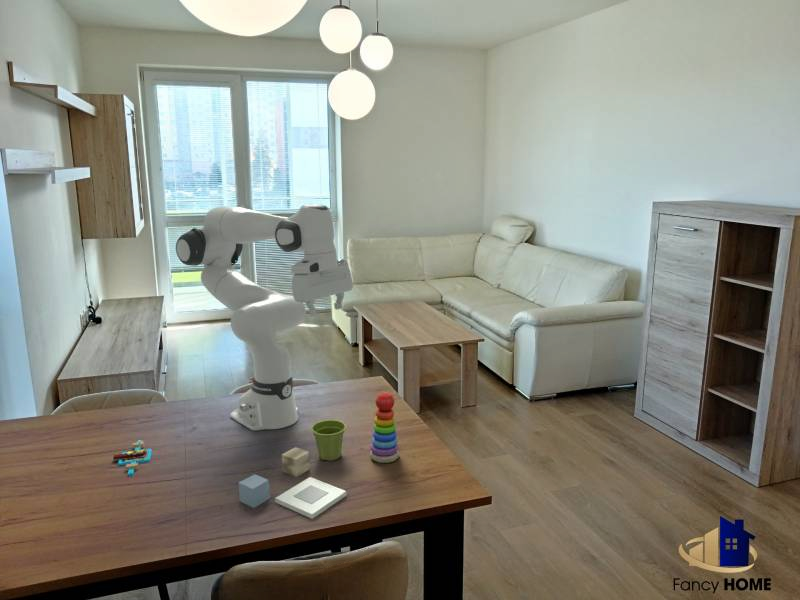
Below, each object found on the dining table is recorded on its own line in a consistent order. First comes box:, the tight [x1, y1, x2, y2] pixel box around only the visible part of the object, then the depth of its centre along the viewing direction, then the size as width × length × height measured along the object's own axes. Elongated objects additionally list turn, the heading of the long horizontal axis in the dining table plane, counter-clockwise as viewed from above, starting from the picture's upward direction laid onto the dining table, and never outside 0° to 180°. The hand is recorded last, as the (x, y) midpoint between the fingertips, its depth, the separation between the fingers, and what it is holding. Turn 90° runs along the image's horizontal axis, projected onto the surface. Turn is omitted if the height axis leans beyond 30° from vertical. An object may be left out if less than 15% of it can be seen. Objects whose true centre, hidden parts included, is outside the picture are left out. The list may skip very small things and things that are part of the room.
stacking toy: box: [369, 391, 400, 464], centre depth 165 cm, size 8×8×19 cm
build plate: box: [274, 476, 347, 520], centre depth 146 cm, size 12×12×1 cm
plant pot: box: [311, 419, 347, 461], centre depth 167 cm, size 9×9×9 cm
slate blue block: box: [238, 474, 271, 508], centre depth 146 cm, size 5×5×5 cm
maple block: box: [281, 446, 311, 478], centre depth 160 cm, size 5×5×5 cm
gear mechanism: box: [112, 439, 153, 477], centre depth 167 cm, size 20×5×9 cm
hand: (326, 312), depth 169 cm, fingers open, 8 cm apart
